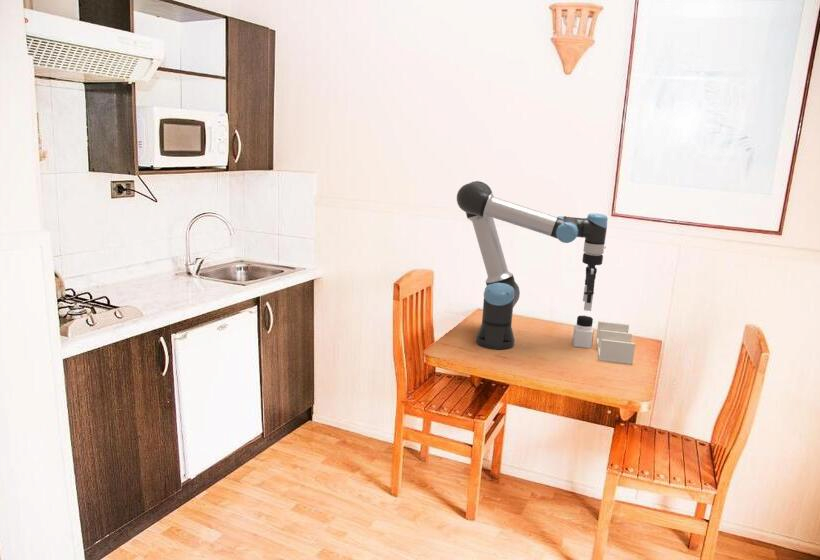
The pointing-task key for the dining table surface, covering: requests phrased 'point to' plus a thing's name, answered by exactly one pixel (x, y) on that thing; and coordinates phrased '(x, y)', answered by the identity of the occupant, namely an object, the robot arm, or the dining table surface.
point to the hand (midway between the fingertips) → (586, 305)
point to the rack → (614, 342)
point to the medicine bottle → (583, 332)
